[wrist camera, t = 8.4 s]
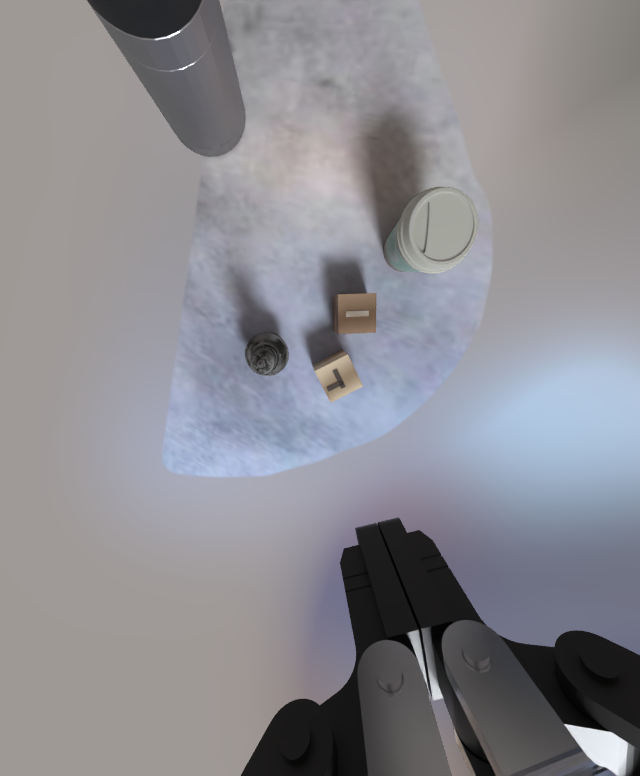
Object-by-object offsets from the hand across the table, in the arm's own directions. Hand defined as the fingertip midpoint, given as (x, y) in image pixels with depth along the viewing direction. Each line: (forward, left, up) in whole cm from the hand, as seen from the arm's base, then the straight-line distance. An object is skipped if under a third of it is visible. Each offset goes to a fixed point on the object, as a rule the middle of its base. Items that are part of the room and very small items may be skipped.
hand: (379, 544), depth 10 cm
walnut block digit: (-6, +7, -37) cm, 38 cm away
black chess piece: (-3, -6, -37) cm, 38 cm away
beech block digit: (+2, +3, -37) cm, 37 cm away
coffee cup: (-13, +16, -37) cm, 43 cm away
